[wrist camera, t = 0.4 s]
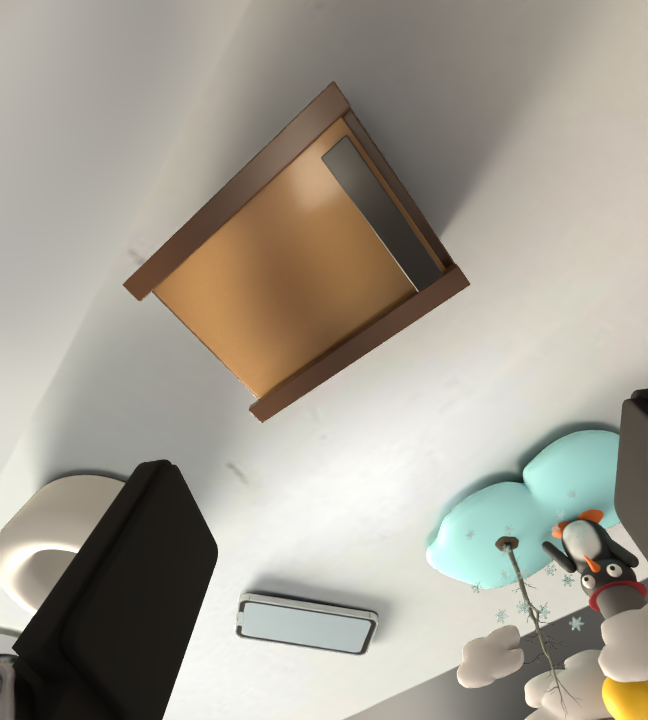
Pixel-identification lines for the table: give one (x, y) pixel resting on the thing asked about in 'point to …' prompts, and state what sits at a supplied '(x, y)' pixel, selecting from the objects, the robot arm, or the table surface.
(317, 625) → the smartphone
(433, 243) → the box
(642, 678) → the penguin figurine
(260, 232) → the lid
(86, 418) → the table surface
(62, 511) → the fat ring
